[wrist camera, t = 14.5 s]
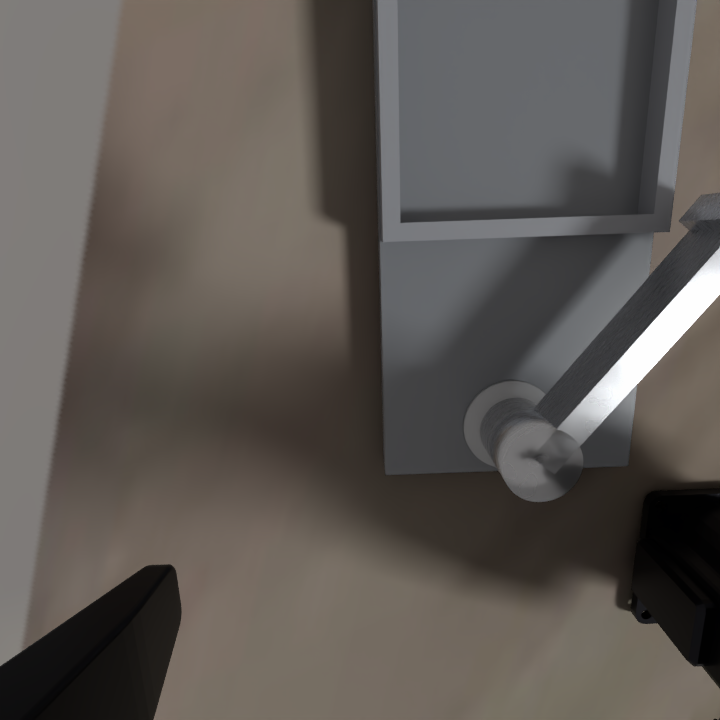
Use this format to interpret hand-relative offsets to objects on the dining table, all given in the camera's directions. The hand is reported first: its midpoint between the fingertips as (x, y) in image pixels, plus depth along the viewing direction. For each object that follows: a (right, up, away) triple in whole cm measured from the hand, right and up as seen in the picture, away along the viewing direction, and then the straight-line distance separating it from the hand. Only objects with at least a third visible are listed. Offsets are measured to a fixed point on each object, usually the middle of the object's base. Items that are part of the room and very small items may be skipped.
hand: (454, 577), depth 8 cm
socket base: (+4, +11, +10) cm, 16 cm away
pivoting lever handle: (+7, +4, +10) cm, 13 cm away
